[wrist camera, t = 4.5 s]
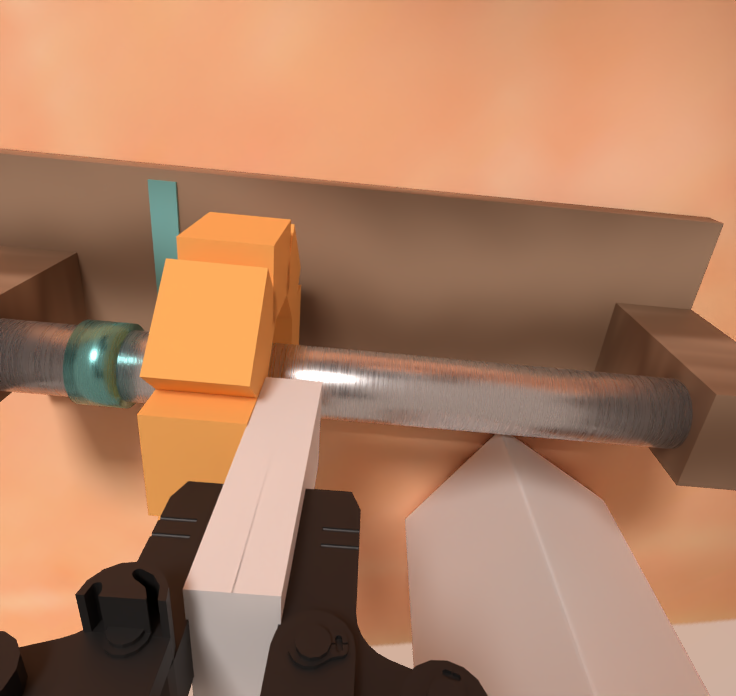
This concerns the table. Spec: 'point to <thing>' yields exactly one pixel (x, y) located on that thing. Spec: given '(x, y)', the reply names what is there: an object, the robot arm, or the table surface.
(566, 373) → the pipe
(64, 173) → the rack
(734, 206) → the table surface
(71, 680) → the robot arm
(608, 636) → the milk carton
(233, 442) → the ring
